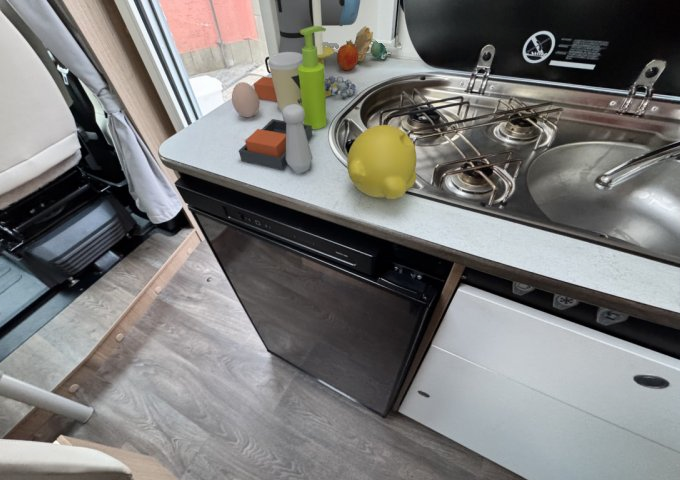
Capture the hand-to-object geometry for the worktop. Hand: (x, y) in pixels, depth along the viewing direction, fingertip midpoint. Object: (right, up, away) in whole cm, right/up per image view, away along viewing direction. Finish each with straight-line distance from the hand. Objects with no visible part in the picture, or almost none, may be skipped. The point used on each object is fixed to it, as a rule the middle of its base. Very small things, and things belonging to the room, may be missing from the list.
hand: (311, 7), depth 65 cm
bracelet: (+7, -4, +24) cm, 25 cm away
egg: (-18, -15, +18) cm, 29 cm away
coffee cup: (-6, -11, +20) cm, 24 cm away
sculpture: (+17, -44, -8) cm, 47 cm away
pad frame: (-8, -28, +7) cm, 30 cm away
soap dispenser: (+1, -19, +14) cm, 23 cm away
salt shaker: (-2, -35, +2) cm, 35 cm away
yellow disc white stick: (+2, -2, +26) cm, 26 cm away
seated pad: (-10, -30, +4) cm, 32 cm away
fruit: (+10, +10, +34) cm, 37 cm away
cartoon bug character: (+13, +18, +34) cm, 41 cm away
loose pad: (-13, -5, +25) cm, 29 cm away
